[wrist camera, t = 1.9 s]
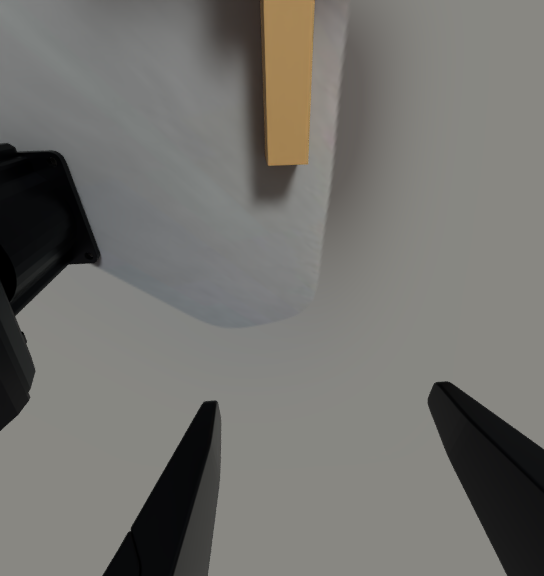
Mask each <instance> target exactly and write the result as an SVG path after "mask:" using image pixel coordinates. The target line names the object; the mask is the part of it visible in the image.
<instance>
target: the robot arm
mask: <svg viewBox="0 0 544 576" xmlns="http://www.w3.org/2000/svg"><path fill="white" fill-rule="evenodd" d="M51 157H53V158H54V159H55V160H56V161H57V166H56V165H54V164H53V163H52V162H51V159H50V158H51ZM87 252H89V253H91V254H92V255H93V257H91V256H89V255H88V254H87ZM99 257H100V252H99V250H98V247H97V244H96V241H95V239H94V236H93V233H92V231H91V228H90V225H89V223H88V220H87V217H86V215H85V212H84V209H83V206H82V204H81V201H80V198H79V196H78V193H77V190H76V188H75V185H74V182H73V179H72V177H71V174H70V171H69V169H68V166H67V163H66V161H65V159H64V157H63V156H62V155H61V154H60V153H58V152H57V151H52V150H51V151H23V152H17V151H16V148H15V147H14V146H12V145H10V144H8V143H0V431H1V430H2V429H3V428H4V427H5V426H6V425H7V424H8V423H9V422H11V421H12V420H13V419H14V418H15V417H16V416H17V415H18V414H19V413H20V412H21V410H22V409H23V408H24V406H25V405H26V404H27V402H28V401H29V399H30V395H29V393H28V392H29V390H30V388H31V385H32V381H33V378H34V374H35V368H34V364H33V361H32V358H31V355H30V353H29V350H28V347H27V345H26V343H27V340H26V338H25V335H24V333H23V332H21V330H20V328H19V325H18V323H17V321H16V318H15V316H16V315H17V314H18V313H19V312H20V311H21V310H22V309H23V308H24V307H25V306H26V305H27V304H28V303H29V302H30V301H31V300H32V299H33V298H34V297H35V296H36V295H37V294H38V293H39V292H40V291H42V290H43V288H45V287H46V286H47V285H48V284H49V283H50V282H51V281H52V280H53V279H54V278H55V277H56V276H57V275H58V274H59V273H60V272H61V271H62V270H63V269H64V268H65V267H66V266H67V265H68V264H85V263H94V262H96V261H97V260H98V259H99ZM428 406H429V409H430V412H431V414H432V417H433V419H434V422H435V425H436V427H437V430H438V432H439V435H440V437H441V440H442V443H443V445H444V448H445V450H446V453H447V455H448V457H449V459H450V462H451V464H452V466H453V468H454V470H455V472H456V474H457V476H458V478H459V480H460V482H461V484H462V486H463V488H464V490H465V492H466V494H467V496H468V498H469V500H470V502H471V504H472V506H473V508H474V510H475V512H476V514H477V516H478V518H479V520H480V522H481V524H482V526H483V528H484V530H485V532H486V534H487V536H488V538H489V540H490V542H491V544H492V546H493V548H494V550H495V552H496V554H497V556H498V558H499V560H500V562H501V564H502V566H503V568H504V570H505V572H506V574H507V576H544V449H542V448H541V447H540V446H538V445H537V444H536V443H534V442H533V441H532V440H530V439H529V438H527V437H526V436H525V435H523V434H522V433H520V432H519V431H518V430H516V429H515V428H513V427H512V426H511V425H509V424H508V423H506V422H505V421H504V420H502V419H501V418H499V417H498V416H497V415H495V414H494V413H492V412H491V411H490V410H488V409H487V408H486V407H484V406H483V405H481V404H480V403H478V402H477V401H476V400H474V399H473V398H472V397H470V396H469V395H467V394H466V393H465V392H463V391H462V390H460V389H459V388H458V387H456V386H455V385H453V384H452V383H450V382H446V381H445V382H436V383H434V385H433V387H432V390H431V392H430V394H429V397H428ZM220 455H221V416H220V410H219V406H218V402H217V401H205V402H203V404H202V405H201V407H200V409H199V410H198V412H197V414H196V415H195V417H194V419H193V421H192V423H191V424H190V426H189V428H188V429H187V431H186V433H185V435H184V436H183V438H182V440H181V442H180V443H179V445H178V447H177V448H176V450H175V452H174V454H173V456H172V457H171V459H170V461H169V462H168V464H167V466H166V468H165V470H164V471H163V473H162V475H161V476H160V478H159V480H158V482H157V483H156V485H155V487H154V489H153V490H152V492H151V494H150V496H149V497H148V499H147V501H146V502H145V504H144V506H143V508H142V509H141V511H140V513H139V515H138V516H137V518H136V520H135V521H134V523H133V525H132V527H131V531H130V532H128V533H127V535H126V537H125V539H124V540H123V542H122V544H121V546H120V547H119V549H118V551H117V552H116V554H115V556H114V558H113V559H112V561H111V562H110V564H109V566H108V567H107V569H106V571H105V572H104V574H103V576H208V569H209V561H210V554H211V546H212V538H213V530H214V522H215V514H216V507H217V498H218V491H219V481H220V462H221V456H220Z"/></svg>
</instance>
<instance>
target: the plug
mask: <svg viewBox="0 0 544 576" xmlns="http://www.w3.org/2000/svg"><path fill="white" fill-rule="evenodd" d="M314 3H315V0H260V11H261V42H262V73H263V105H264V136H265V158H266V161H267V164H268V166H275V165H301V164H308V151H309V126H310V102H311V77H312V53H313V28H314Z"/></svg>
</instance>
